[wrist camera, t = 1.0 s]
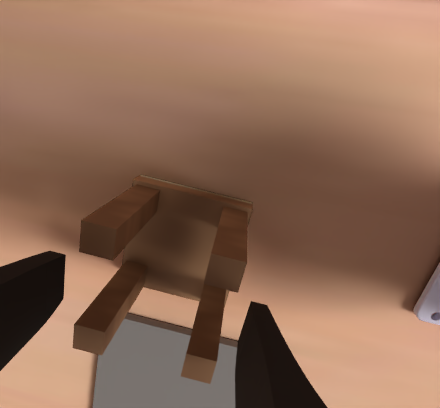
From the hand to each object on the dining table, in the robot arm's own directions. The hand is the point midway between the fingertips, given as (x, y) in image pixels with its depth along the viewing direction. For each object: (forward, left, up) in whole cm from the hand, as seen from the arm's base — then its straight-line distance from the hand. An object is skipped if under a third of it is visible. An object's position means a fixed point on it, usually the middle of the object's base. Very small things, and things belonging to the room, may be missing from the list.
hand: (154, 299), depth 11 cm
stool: (0, 0, -6) cm, 6 cm away
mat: (-2, +12, -5) cm, 13 cm away
